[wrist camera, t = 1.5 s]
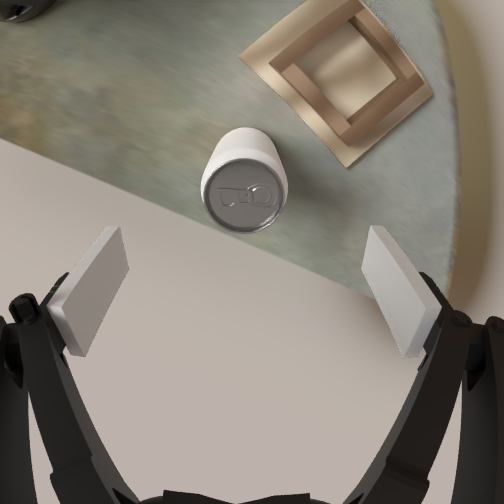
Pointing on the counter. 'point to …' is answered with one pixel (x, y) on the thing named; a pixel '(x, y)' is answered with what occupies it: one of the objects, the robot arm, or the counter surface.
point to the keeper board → (339, 73)
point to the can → (244, 182)
